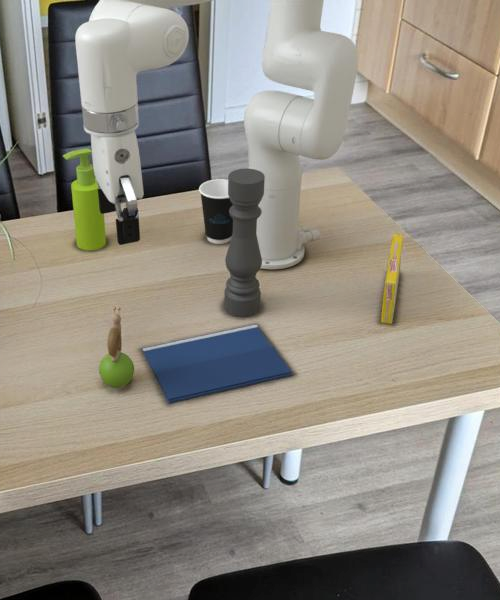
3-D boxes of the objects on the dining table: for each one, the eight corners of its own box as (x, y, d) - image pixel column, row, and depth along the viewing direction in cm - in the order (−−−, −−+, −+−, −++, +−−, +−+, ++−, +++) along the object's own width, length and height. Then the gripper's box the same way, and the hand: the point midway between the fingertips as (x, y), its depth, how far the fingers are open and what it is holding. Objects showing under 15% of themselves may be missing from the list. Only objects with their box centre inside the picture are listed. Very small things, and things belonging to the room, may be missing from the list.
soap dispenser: (67, 241, 167) (58, 149, 156) (98, 233, 170) (91, 141, 158) (78, 254, 163) (69, 160, 152) (110, 245, 165) (104, 152, 154)
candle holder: (258, 318, 142) (265, 185, 128) (222, 315, 143) (224, 184, 129) (261, 298, 147) (267, 168, 133) (225, 296, 148) (228, 167, 134)
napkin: (255, 325, 140) (255, 322, 140) (291, 375, 129) (292, 372, 128) (142, 350, 136) (141, 346, 136) (168, 403, 125) (168, 399, 124)
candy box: (387, 272, 151) (392, 232, 147) (399, 274, 151) (405, 234, 146) (378, 322, 139) (384, 280, 134) (392, 324, 138) (398, 282, 133)
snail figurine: (137, 368, 132) (134, 306, 125) (132, 395, 127) (129, 331, 120) (104, 367, 133) (99, 305, 126) (97, 393, 128) (92, 330, 121)
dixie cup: (213, 252, 161) (213, 201, 155) (191, 235, 167) (191, 185, 161) (247, 240, 164) (249, 190, 158) (224, 224, 170) (225, 175, 163)
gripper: (157, 134, 106) (162, 249, 115) (119, 90, 119) (127, 196, 129) (100, 145, 104) (110, 260, 114) (68, 98, 118) (80, 205, 128)
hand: (119, 226), depth 122 cm, fingers open, 9 cm apart
